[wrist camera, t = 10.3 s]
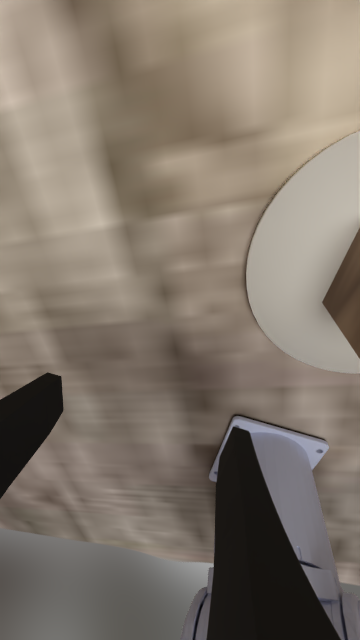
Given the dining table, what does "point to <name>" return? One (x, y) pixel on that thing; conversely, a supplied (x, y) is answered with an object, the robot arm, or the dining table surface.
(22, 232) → the dining table surface
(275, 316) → the cream plate
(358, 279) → the walnut block
